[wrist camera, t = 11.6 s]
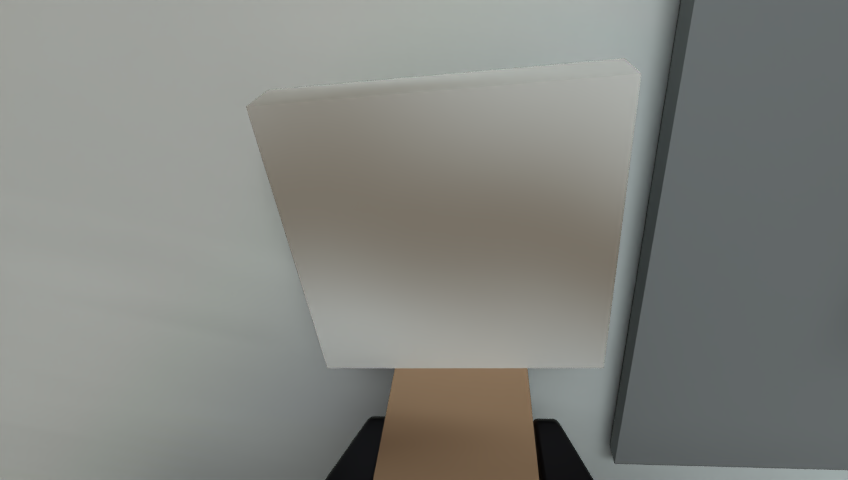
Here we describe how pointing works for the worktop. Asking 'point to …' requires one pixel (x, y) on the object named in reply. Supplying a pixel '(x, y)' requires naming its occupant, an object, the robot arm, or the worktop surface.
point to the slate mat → (745, 247)
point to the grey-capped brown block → (456, 242)
